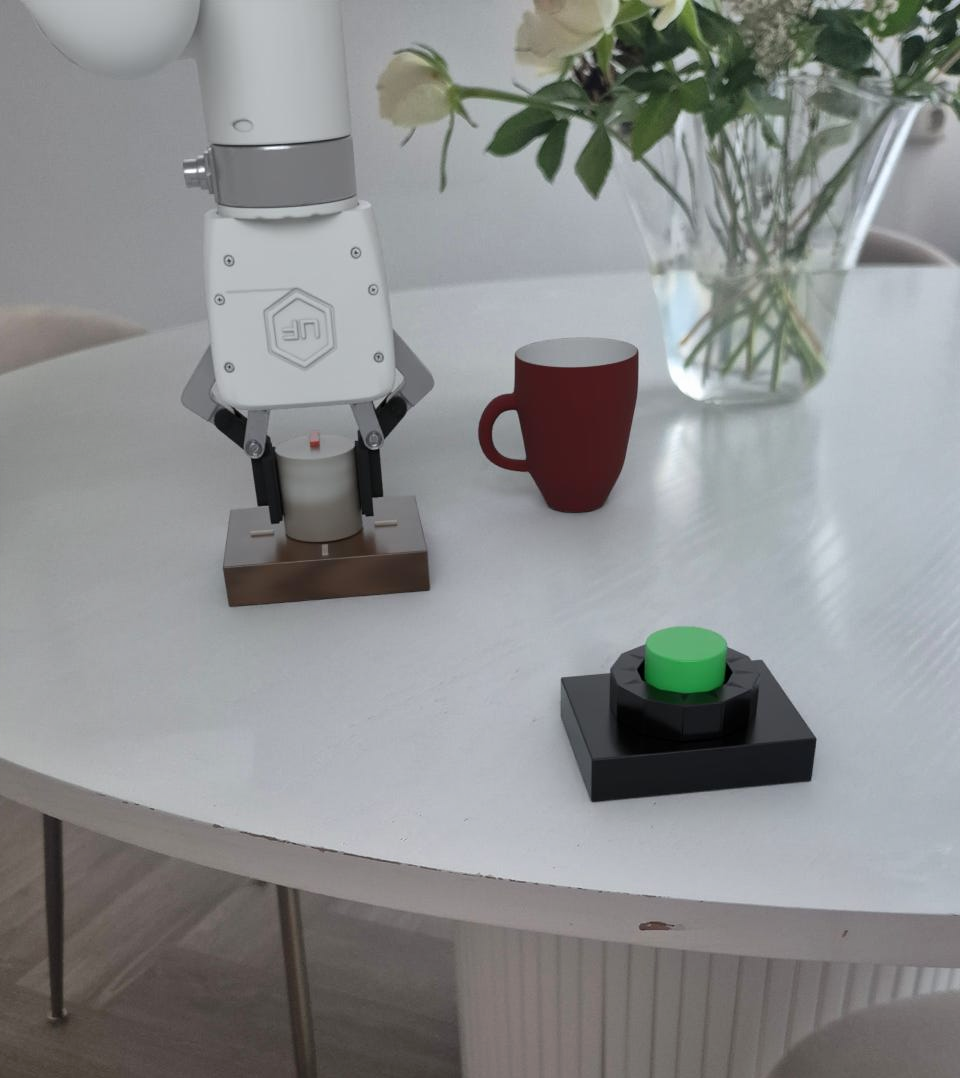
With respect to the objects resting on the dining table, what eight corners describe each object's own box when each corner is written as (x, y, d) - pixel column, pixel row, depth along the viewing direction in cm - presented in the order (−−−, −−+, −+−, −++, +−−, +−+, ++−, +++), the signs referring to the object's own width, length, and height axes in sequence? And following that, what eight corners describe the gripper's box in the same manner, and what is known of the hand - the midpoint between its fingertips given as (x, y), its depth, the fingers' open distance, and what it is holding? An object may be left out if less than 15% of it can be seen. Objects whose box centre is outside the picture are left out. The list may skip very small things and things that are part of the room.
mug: (493, 532, 83) (487, 375, 77) (473, 493, 90) (467, 345, 84) (648, 517, 84) (654, 361, 79) (618, 479, 91) (621, 333, 85)
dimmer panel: (228, 607, 75) (221, 564, 73) (235, 546, 83) (229, 506, 81) (430, 590, 76) (427, 547, 74) (417, 531, 84) (414, 492, 82)
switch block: (591, 802, 55) (592, 723, 53) (560, 716, 62) (560, 642, 60) (811, 781, 56) (822, 701, 54) (758, 698, 63) (765, 624, 60)
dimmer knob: (364, 538, 76) (356, 450, 73) (284, 545, 76) (273, 456, 73) (361, 511, 80) (353, 427, 77) (285, 517, 80) (274, 432, 76)
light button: (654, 700, 55) (655, 664, 54) (636, 664, 58) (637, 629, 57) (734, 692, 56) (737, 656, 55) (712, 657, 59) (714, 622, 58)
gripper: (113, 197, 63) (177, 546, 73) (450, 178, 64) (466, 523, 75) (130, 179, 69) (186, 503, 80) (437, 161, 71) (454, 482, 81)
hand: (322, 509), depth 77 cm, fingers closed on dimmer knob, 4 cm apart
